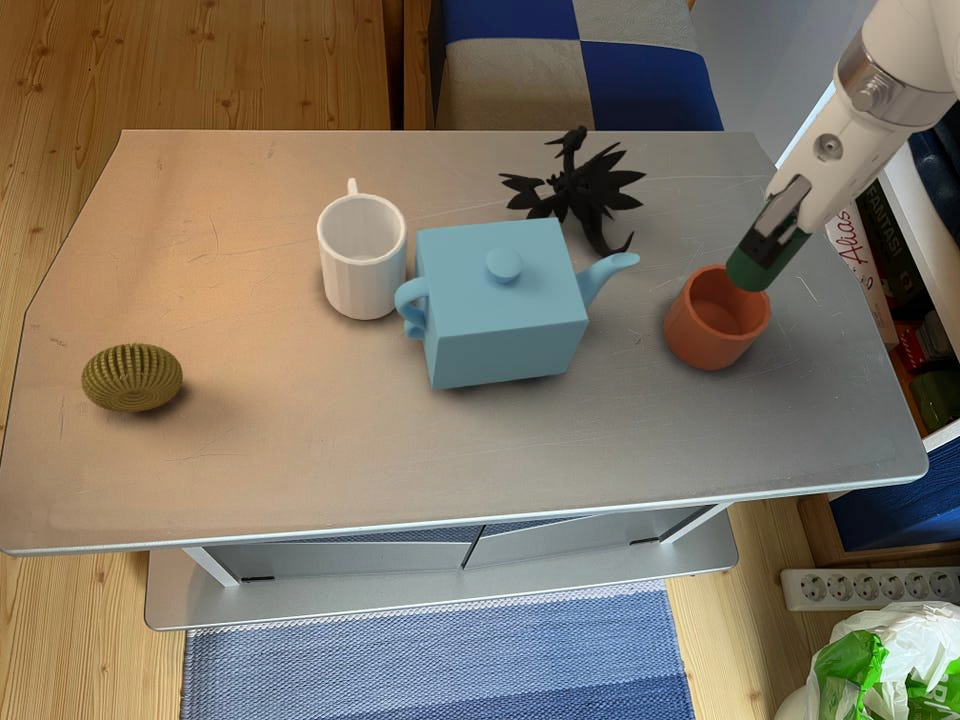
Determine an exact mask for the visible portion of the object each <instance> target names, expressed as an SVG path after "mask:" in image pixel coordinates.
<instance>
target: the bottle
mask: <svg viewBox="0 0 960 720" xmlns="http://www.w3.org/2000/svg"><path fill="white" fill-rule="evenodd" d="M772 201H773V200H772ZM772 201H770V200H768V201H767V203H766V204H765V206H764V207H763V208H762V210H761V211H760V213H759V214H758V216H757V217H756V219H755V220H754V221H753V222H752V224H751V225H750V227H749V228H748V230H747V231H746V233H745V234H744V236H743V237H742V238H741V240H740V241H739V243H738V244H737V246H735V248H734V250H733V251H732V253H731V254H730V256H729V257H728V258H727V260H726V262H725V265H726V273H727V276H728V278H729V279H730V280H731V282H732V283H733V284H734V285H736V286H737V287H739V288H740V289H742V290H745V291H748V292H760V291H763V290H764V291H765V290H767V289H768V288H769V287H770V286H771V285H772V283H774V281H775V280H776V279H777V277H779V275H780V274H781V272H782V271H783V270H784V269H785V268H786V267H787V266H788V264H789V263H790V262H791V260H792V259H793V258H794V257H795V256H796V255H797V254H798V252H799V251H800V250H801V249H802V248H803V246H804V245H805V244H806V242H807V241H808V240H809V239H810V238H811V236H812V235H813V234H814V233H805V232H804V231H803V230H802V229H800V228H798V229H797V230H796V231H795V233H794V234H793V235H792V236H791V237H790V238H791V239H792V240H793V241H792V242H791V243H790V244H789V246H788V247H787V248H786V249H785V251H784V252H783V253H782V254H781V256H780V257H779V258H778V259H777V261H776V262H775V263H774V264H773V266H772V267H771V268H769V269H768V270H764V269H762V268H761V267H760V266H759V265H758V264H756V263H755V262H754V261H753V260H752V259H751V258H749V257H748V256H747V255H746V254H745V253H744V252H742V251H741V250H740V248H739V244H740V243H741V241H742V240H743V239H744V237H745V236H746V234H747V233H748V231H749V230H750V229H751V227H752V226H753V224H754V223H755V222H756V220H757V219H758V217H760V216H761V215H762V213H763V212H764V211H765V210H766V208H767V207H768V206H769V204H770V203H771V202H772ZM799 204H801V203H799ZM793 221H794V218H793V217H791V216H790V215H788V216H787V218H786V219H785V220H784V221H783V222H782V224H783V225H784V226H786V228H788V227H789V225H790V224H791V223H792V222H793Z"/></svg>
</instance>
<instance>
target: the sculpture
mask: <svg viewBox="0 0 960 720" xmlns="http://www.w3.org/2000/svg"><path fill="white" fill-rule="evenodd" d="M82 370H83V371H82V372H81V379H80V381H81V388H82V391H83V393H84V394H85V396H86V397H87V399H88V400H89V401H90V402H92V403H93V404H94V405H97V407H99V408H101V409H102V408H103V409H104V410H107V411H111V412H117V413H135V412H141V411H142V412H145V411H148V410H152V409H154V408H158V407H159V406H162V405H164V404H166V403H167V402H169V401H170V400H171V399H173V398H174V397H175V396H176V394H177V393H178V392H179V390H180V389H181V386H182V384H183V378H184V374H183V373H184V372H183V371H184V370H183V367H182V365H181V363H180V362H179V360H178V359H177V358H176V356H175V355H173V353H171V352H170V351H168V350H166V349H165V348H163V347H160V346H157V345H154V344H148V343H137V342H135V343H134V342H133V343H125V344H119V345H115V346H111V347H108V348H106V349H104V350H101V351H99V352H98V353H96V354H95V355H93V356H92V357H91V358H90V359H89V360H88V361H87V362H86V364H85V366H84V368H83V369H82Z"/></svg>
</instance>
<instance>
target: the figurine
mask: <svg viewBox="0 0 960 720" xmlns="http://www.w3.org/2000/svg"><path fill="white" fill-rule="evenodd" d="M587 137H588V127H586V126H585V125H582V124H581V125H579V126H578V128H577V129H571V130H569V131H567V132H566V133H565V134H564V135H563V136H562V137H560V138H557V139H554V140H550V141H547V142H543V145H545V146H552V145H562V149H561V150H560V152H558V153H557V155H555V156H554V159H558V158H560V157H562V156H563V159H562V160H563V161H562V167H563V170H560V171H559V176H558V177H556V174H555V173H552V174H551V175H550V178H546V179H545V180H543V179H542V178H538V177H529V176H523V175H518V174H512V173H504V172H503V173H502V172H501V173H498V174H497V175H498V176H499V177H504V178H508V179H505V180H503V181H501V182H500V184H502V185H503V186H504V187H507V188H509V189H511V190H514V191H516V192H518V193H517V194H515V195H514V196H513V197H512V198H511V199H510V200H509V202H508V204H507V205H506V209H508V210H512V211H525V210H529V211H528V212H527V215H526V218H525V220H529V219H541V218H550V216H551V215H552V213H553V214H554V217H558V220H559V223H560V225H563V224H564V222H565V221H566V219H567V216H568V212H569V209H570V211H571V212H572V214H573V216H574V217H575V218H576V219H577V220H578V221H579V222H580V226H581V228H582V231H583V233H584V235H585V238H586V239H587V241H588V242H589V244H590V245H591V246H592V248H593V249H594V250H595V252H596V253H597V254H598V255H599V256H601V257H602V258H603V259H604V258H606V257H609V256H611V255H614V254H618V253H627V252H628V249H629V248H630V246H631V243H632V240H633V238H634V235H635V230H632V232H630V234H629V235H628V237H627V239H626V241H625V243H624V244H623V245H622V246H621V247H619V248H618V247H617V248H616V249H611V247H610V246H609V245H608V243H607V242H606V238H605V236H604V234H603V215H604V216H605V217H607V218H608V219H610V220H612V221H613V222H615V219H614V217H613V215H612V214H611V213H610V211H609V210H608V209H610V210H612V211H613V212H616V211H617V212H618V211H628V210H629V211H630V210H634V209H637V208H640V207H643V206H645V204H644V203H643V202H642V201H640V200H638V199H637V198H635V197H634V196H631V195H629V194H627V193H622V192H620V191H621V189H622V188H624V187H626V186H628V185H631V184H633V183H635V182H638V181H640V180H641V179H642V178H644V177H646V176H647V175H648V173H645V172H641V171H637V170H627V169H626V170H624V169H623V170H621V169H620V170H619V169H618V170H612V169H613V168H615V166H616V165H617V164H618V163H619V162H620V161H621V160H622V159H623V158H624V156H625V155H626V154H627V152H628V149H624V150H617V151H615V152H611V151H612V150H613V149H615V148H616V147H618V146H620V144H621V143H622V142H621V141H617V142H614V143H613V144H611V145H609V146H608V147H606V148H604V149H603V150H601V151H600V152H599V153H597V154H595V155H594V156H593V157H592V158H590V159H589V160H588V161H585V162H584V163H583V165H580V166H578V167H577V168H575V167H576V166H575V152H578V151H579V150H580V149H581V148H582V146H583V142H584V141H585V139H586V138H587ZM609 152H611V153H609ZM546 183H547V184H548V186H550V187H552V190H553V192H554V194H552V195H550V196H548V197H545V198H542V199H541V197H540V196H539V194H538V192H537V191H536V188H537V187H540V186H545V185H546Z"/></svg>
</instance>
